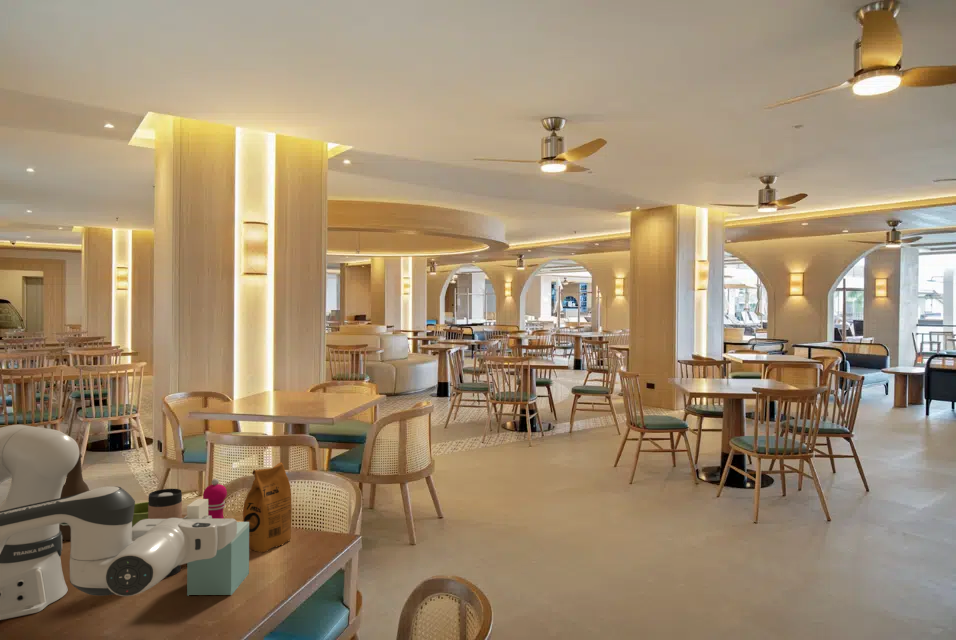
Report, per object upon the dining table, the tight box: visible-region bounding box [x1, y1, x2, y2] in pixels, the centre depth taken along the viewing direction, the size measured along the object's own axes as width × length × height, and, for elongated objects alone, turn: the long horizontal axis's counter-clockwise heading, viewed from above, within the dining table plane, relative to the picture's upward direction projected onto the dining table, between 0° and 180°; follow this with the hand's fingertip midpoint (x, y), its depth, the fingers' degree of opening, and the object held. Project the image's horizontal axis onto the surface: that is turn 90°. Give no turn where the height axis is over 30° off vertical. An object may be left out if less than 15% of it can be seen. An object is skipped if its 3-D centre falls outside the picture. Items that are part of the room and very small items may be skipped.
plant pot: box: [132, 501, 148, 527], centre depth 169 cm, size 12×12×11 cm
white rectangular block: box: [186, 498, 208, 519], centre depth 133 cm, size 5×2×9 cm, turn 2°
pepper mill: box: [202, 478, 228, 519], centre depth 166 cm, size 7×7×20 cm
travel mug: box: [147, 488, 183, 578], centre depth 153 cm, size 8×8×20 cm
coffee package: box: [242, 462, 293, 553], centre depth 172 cm, size 10×12×22 cm
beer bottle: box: [59, 452, 90, 541], centre depth 177 cm, size 8×8×24 cm
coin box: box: [186, 521, 250, 597], centre depth 146 cm, size 12×10×13 cm
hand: (199, 519), depth 134 cm, fingers closed on white rectangular block, 2 cm apart
